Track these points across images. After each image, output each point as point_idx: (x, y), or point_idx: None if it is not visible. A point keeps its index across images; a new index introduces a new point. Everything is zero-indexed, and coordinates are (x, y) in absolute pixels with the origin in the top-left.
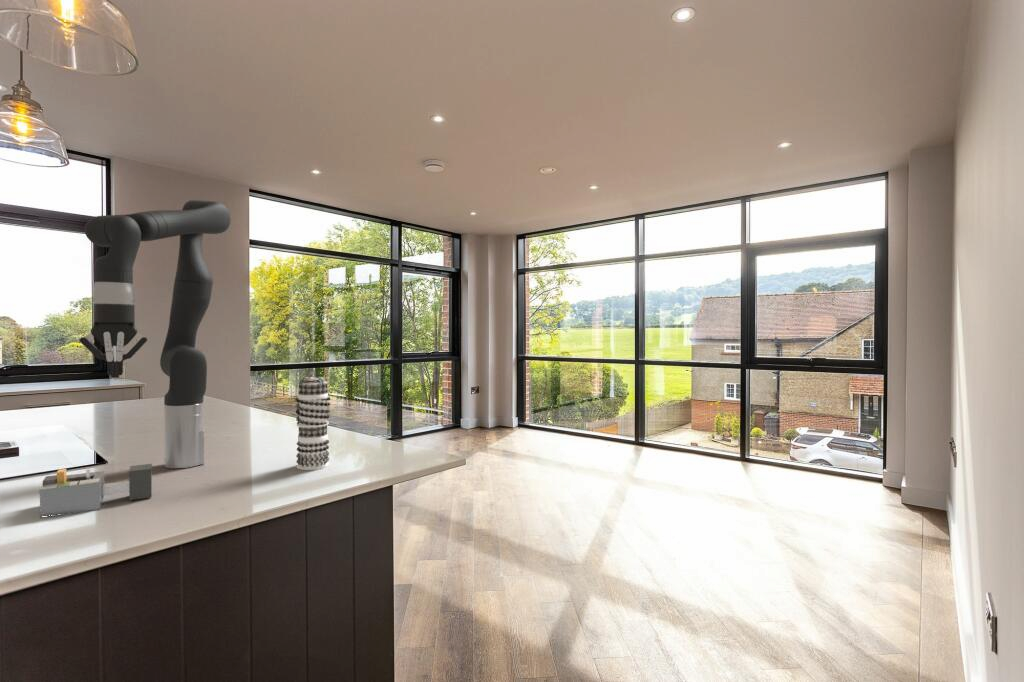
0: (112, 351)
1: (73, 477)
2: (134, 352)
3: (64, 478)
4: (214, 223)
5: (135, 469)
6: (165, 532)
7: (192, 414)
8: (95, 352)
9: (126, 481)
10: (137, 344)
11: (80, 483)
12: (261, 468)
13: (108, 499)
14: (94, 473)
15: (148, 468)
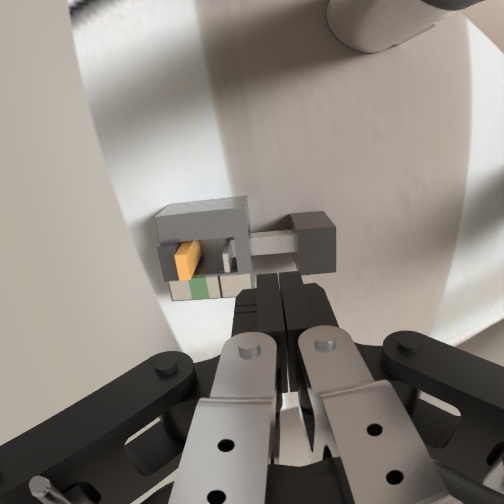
0: (278, 458)
1: (199, 238)
2: (436, 426)
3: (192, 270)
4: None
5: (308, 265)
6: None
7: (441, 18)
8: (155, 459)
9: (288, 237)
10: (480, 471)
11: (225, 297)
12: (482, 142)
13: (256, 220)
14: (230, 221)
15: (331, 268)
